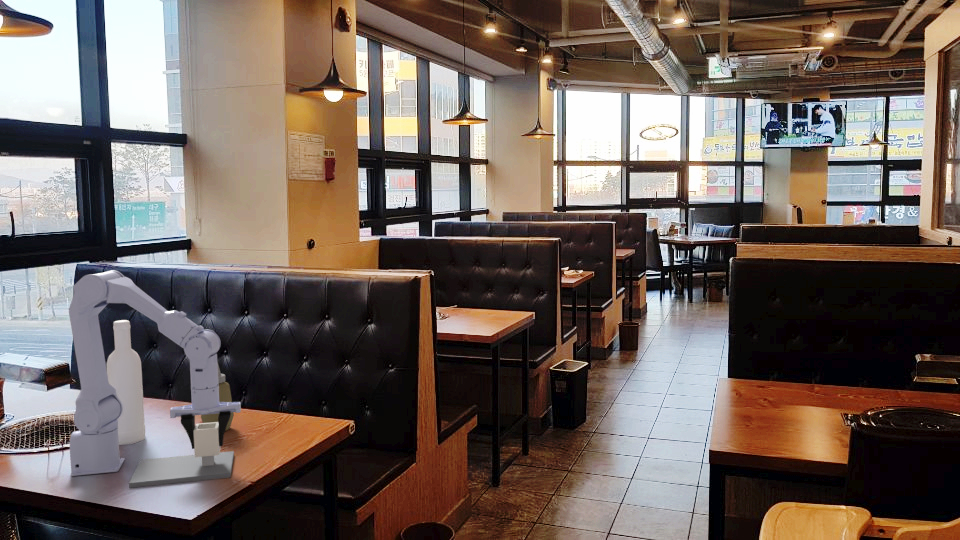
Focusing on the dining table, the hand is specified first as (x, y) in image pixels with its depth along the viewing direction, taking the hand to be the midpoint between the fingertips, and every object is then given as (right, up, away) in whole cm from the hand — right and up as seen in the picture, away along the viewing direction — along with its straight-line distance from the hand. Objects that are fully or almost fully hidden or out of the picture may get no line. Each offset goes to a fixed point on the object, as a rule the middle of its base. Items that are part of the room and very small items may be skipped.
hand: (207, 446), depth 163 cm
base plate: (-5, -5, -1) cm, 7 cm away
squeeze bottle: (-8, -3, +27) cm, 28 cm away
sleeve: (0, -1, 0) cm, 1 cm away
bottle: (-27, -3, +20) cm, 34 cm away
